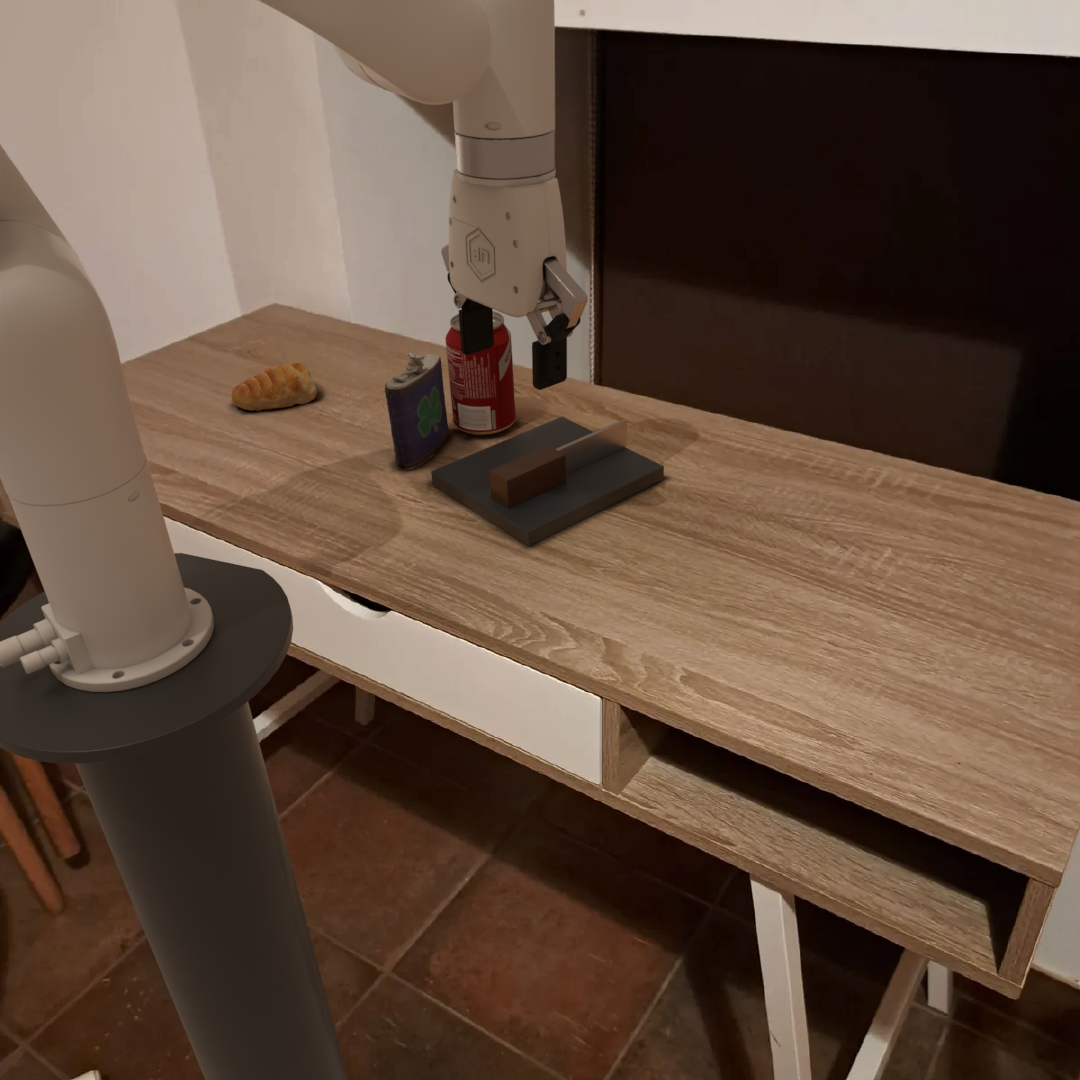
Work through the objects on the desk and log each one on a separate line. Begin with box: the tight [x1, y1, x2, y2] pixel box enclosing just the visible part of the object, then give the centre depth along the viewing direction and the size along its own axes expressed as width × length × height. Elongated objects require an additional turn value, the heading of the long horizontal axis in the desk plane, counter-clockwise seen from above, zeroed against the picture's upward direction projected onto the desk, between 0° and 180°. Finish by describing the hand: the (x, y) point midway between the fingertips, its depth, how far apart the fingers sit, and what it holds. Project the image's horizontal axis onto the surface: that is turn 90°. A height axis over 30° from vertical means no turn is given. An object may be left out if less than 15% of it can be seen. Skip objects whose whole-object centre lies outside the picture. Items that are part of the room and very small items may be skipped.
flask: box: [384, 351, 449, 471], centre depth 102 cm, size 9×3×11 cm, turn 157°
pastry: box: [231, 359, 318, 412], centre depth 116 cm, size 9×7×4 cm
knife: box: [489, 418, 628, 509], centre depth 96 cm, size 16×3×3 cm, turn 130°
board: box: [430, 416, 665, 547], centre depth 98 cm, size 17×15×2 cm
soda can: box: [445, 310, 517, 437], centre depth 106 cm, size 7×7×12 cm
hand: (512, 366), depth 86 cm, fingers open, 9 cm apart
